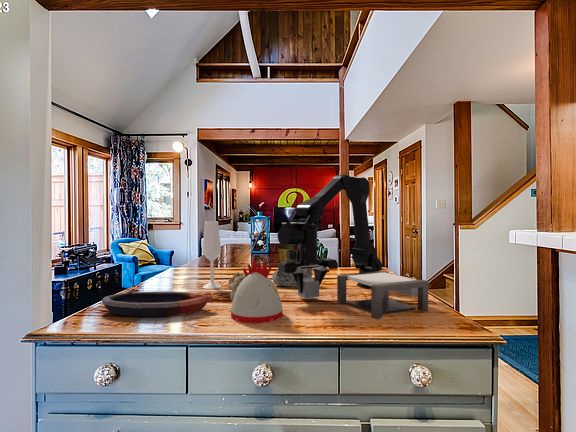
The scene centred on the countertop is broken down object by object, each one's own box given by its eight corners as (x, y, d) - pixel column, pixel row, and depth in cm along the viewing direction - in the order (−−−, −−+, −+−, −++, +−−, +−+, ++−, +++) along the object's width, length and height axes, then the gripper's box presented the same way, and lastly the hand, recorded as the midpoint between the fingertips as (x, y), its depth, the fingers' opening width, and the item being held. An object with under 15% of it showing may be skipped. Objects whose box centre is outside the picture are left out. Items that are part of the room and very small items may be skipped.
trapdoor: (394, 286, 126) (394, 271, 125) (427, 296, 113) (427, 278, 113) (347, 292, 118) (347, 275, 118) (376, 302, 105) (376, 284, 105)
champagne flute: (199, 286, 144) (198, 221, 143) (215, 284, 148) (214, 220, 147) (209, 289, 139) (208, 221, 138) (225, 286, 143) (224, 221, 142)
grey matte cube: (311, 293, 127) (311, 278, 127) (319, 296, 123) (319, 280, 122) (297, 295, 125) (297, 279, 125) (305, 298, 121) (304, 282, 120)
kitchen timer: (270, 326, 97) (270, 265, 97) (221, 320, 102) (221, 263, 101) (289, 311, 110) (289, 258, 110) (245, 307, 115) (245, 256, 114)
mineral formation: (228, 303, 119) (220, 290, 133) (270, 307, 123) (258, 293, 137) (233, 277, 118) (224, 267, 132) (274, 282, 123) (262, 271, 137)
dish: (117, 304, 119) (117, 288, 119) (217, 305, 118) (217, 289, 117) (89, 319, 103) (88, 300, 103) (204, 320, 102) (203, 301, 102)
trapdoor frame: (384, 296, 127) (384, 270, 127) (428, 311, 110) (428, 281, 110) (337, 302, 120) (337, 275, 119) (375, 319, 102) (376, 286, 102)
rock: (317, 282, 149) (312, 256, 149) (316, 286, 141) (311, 258, 141) (276, 288, 151) (272, 263, 151) (273, 293, 142) (268, 265, 143)
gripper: (321, 239, 135) (321, 285, 135) (271, 242, 127) (271, 290, 127) (338, 242, 124) (338, 291, 125) (285, 245, 117) (285, 297, 117)
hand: (308, 292), depth 124 cm, fingers closed on grey matte cube, 5 cm apart
